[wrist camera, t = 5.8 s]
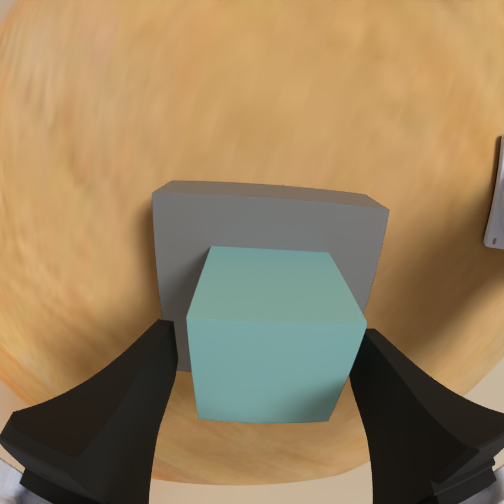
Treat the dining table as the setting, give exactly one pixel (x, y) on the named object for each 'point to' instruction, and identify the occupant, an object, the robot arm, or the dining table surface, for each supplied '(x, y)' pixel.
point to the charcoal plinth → (258, 235)
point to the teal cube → (271, 336)
